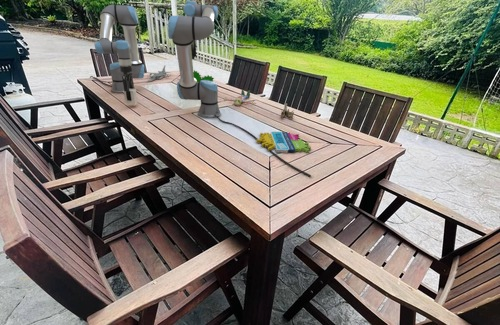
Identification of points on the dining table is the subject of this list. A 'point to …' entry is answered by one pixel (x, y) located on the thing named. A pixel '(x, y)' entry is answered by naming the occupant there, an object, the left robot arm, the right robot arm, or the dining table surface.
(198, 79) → the ornament
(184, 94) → the right robot arm
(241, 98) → the toy
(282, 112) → the jawbone
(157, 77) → the airplane
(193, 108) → the dining table surface
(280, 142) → the sign
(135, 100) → the block
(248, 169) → the dining table surface
